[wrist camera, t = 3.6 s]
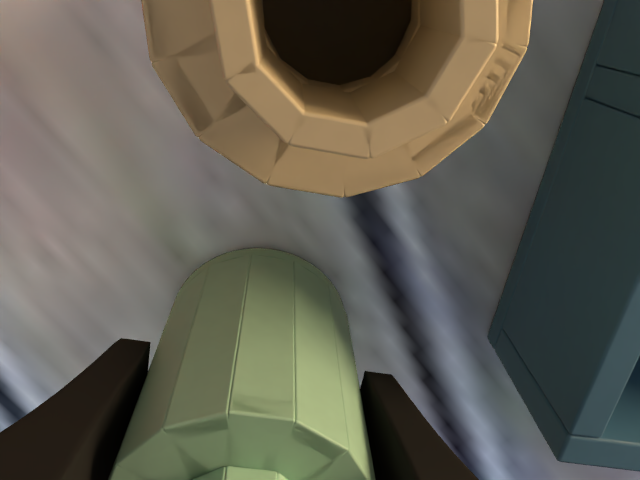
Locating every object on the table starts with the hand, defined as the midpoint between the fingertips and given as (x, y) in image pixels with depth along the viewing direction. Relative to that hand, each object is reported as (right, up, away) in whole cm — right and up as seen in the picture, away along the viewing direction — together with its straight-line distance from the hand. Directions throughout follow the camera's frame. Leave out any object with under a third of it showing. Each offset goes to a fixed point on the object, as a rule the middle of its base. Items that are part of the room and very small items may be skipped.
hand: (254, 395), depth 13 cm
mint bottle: (0, +1, +3) cm, 3 cm away
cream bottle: (+1, +8, 0) cm, 9 cm away
